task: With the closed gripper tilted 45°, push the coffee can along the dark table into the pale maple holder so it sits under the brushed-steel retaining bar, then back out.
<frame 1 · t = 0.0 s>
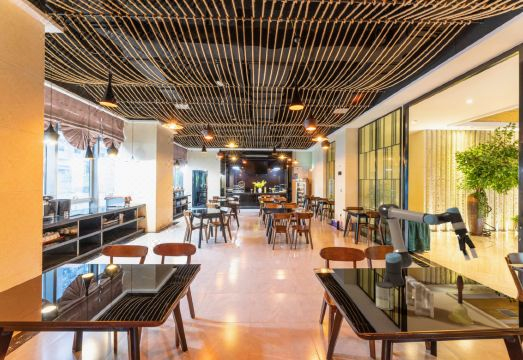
hand: (472, 259, 188), 28 cm above the table, tool tilted 20°, fingers open, 13 cm apart
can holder: (413, 309, 169), on the table
coffee can: (384, 306, 173), on the table
handbell: (460, 320, 156), on the table
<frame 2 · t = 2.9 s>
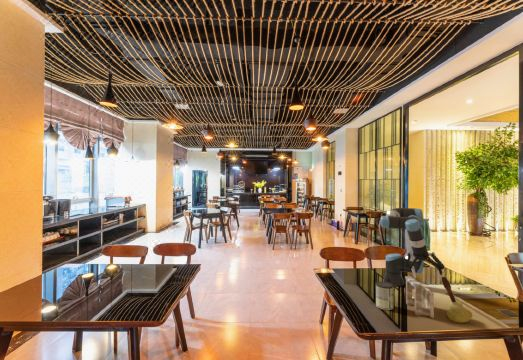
hand: (427, 278, 161), 22 cm above the table, tool tilted 20°, fingers open, 13 cm apart
handbell: (459, 314, 156), point 3 cm above the table
everything else where it was.
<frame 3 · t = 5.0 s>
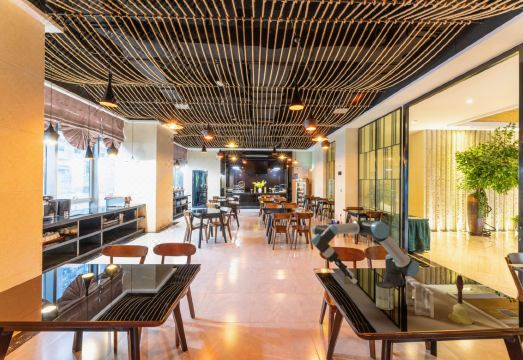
hand: (354, 279, 177), 16 cm above the table, tool tilted 45°, fingers open, 12 cm apart
handbell: (460, 319, 156), on the table
everything else where it was.
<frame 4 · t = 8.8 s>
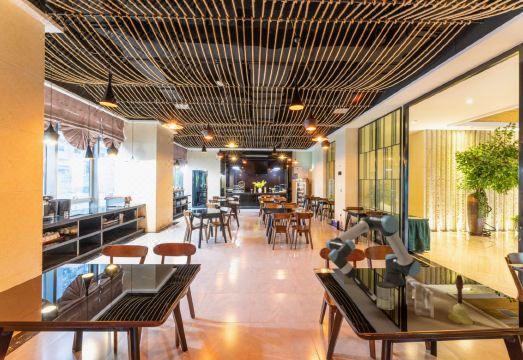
hand: (375, 298, 173), 5 cm above the table, tool tilted 45°, fingers closed
coffee can: (385, 306, 172), on the table, touching gripper
everything else where it was.
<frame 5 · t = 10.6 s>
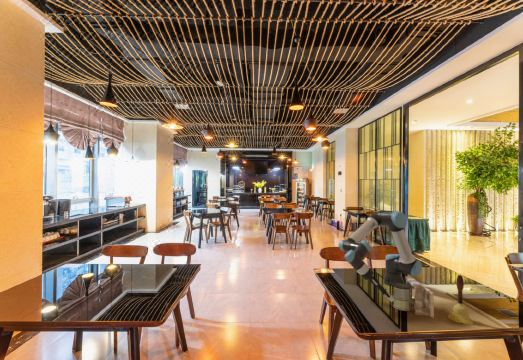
hand: (392, 300, 171), 5 cm above the table, tool tilted 45°, fingers closed
coffee can: (401, 307, 172), on the table, touching gripper
everything else where it was.
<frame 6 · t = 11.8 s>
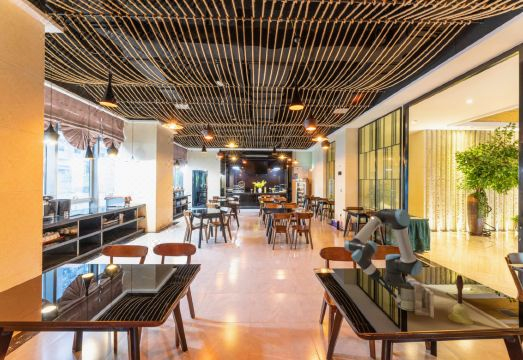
hand: (399, 301, 170), 5 cm above the table, tool tilted 45°, fingers closed
coffee can: (407, 308, 171), on the table, touching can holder, gripper
everything else where it was.
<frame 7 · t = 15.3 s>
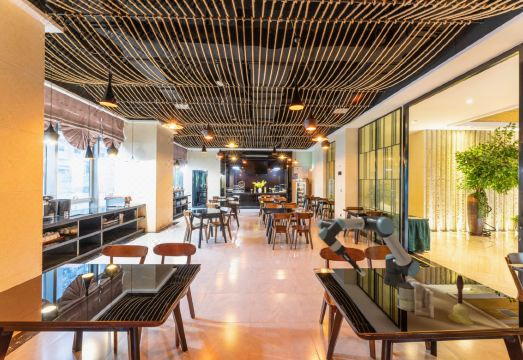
hand: (364, 275, 176), 19 cm above the table, tool tilted 45°, fingers closed
coffee can: (406, 307, 172), on the table
everything else where it was.
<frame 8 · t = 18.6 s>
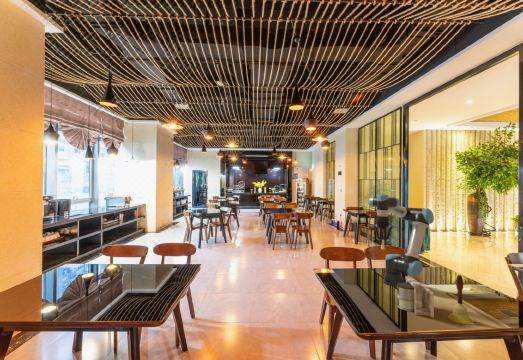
hand: (382, 249, 194), 32 cm above the table, tool pointing down, fingers closed
nothing on the table moved.
at the end: coffee can inside the target area on the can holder (2.9 cm from its centre), point 0.0 cm above the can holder's base; coffee can tilted 0° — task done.
